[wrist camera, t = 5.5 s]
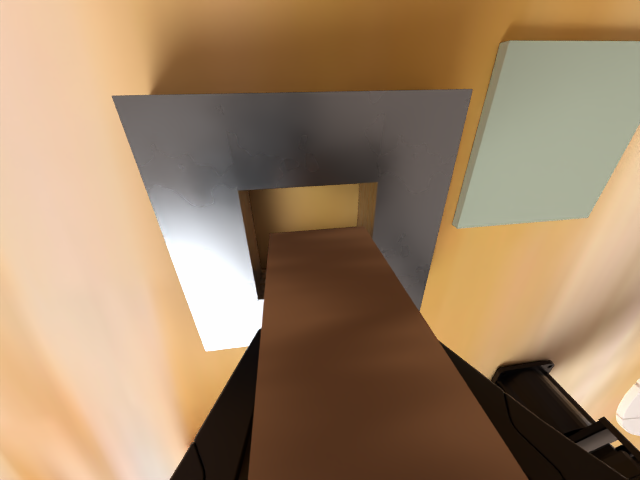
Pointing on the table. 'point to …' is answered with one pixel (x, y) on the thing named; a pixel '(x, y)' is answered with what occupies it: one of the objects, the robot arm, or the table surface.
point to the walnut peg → (359, 375)
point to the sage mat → (550, 131)
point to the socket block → (288, 181)
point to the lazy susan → (630, 410)
